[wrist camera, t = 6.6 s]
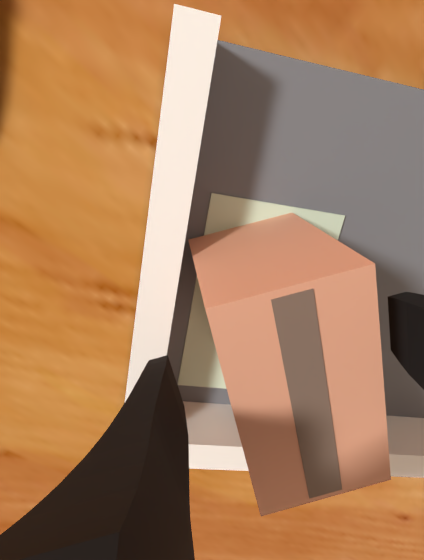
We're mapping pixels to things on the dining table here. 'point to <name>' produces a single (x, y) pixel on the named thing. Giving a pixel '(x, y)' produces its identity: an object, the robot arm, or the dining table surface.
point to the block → (297, 357)
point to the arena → (275, 208)
